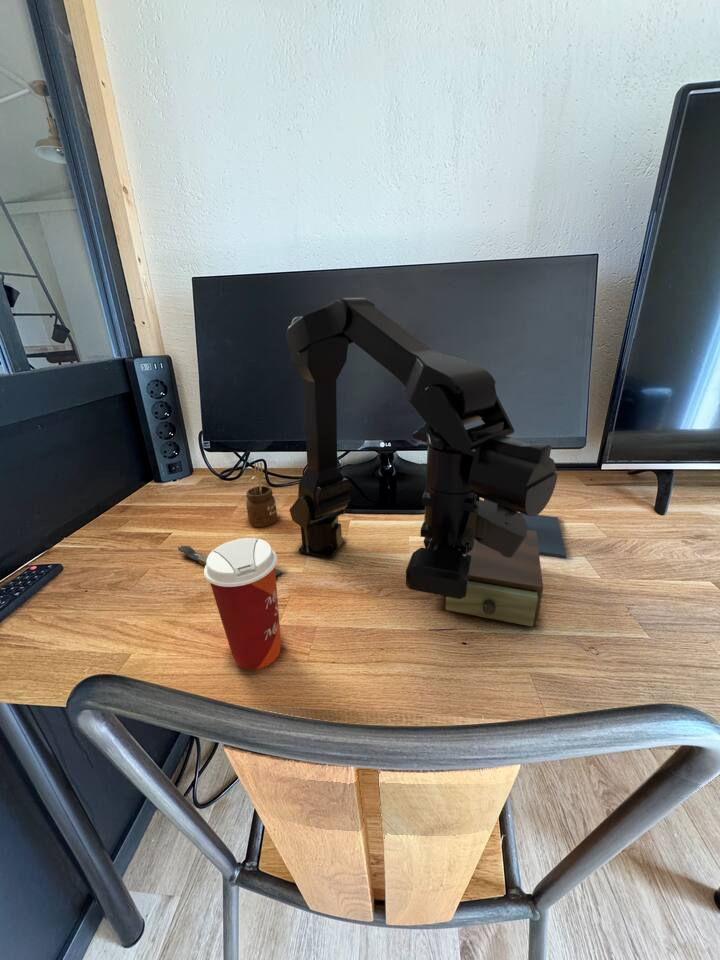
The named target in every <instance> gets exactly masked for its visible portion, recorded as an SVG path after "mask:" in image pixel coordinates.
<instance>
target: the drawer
mask: <svg viewBox="0 0 720 960" xmlns="http://www.w3.org/2000/svg"><path fill="white" fill-rule="evenodd" d="M537 599H538V596H537V592H532V591H530V590H528V589H522V588H516V587H510V586H504V585H498V584H492V583H486V582H480V581H474V580H468V586H467V592H466V597H464V598H461V599H456V598H451V597H446V609H445V610H446V611H451V612H456V613H461V614H465V615H471V616H475V617H480V618H486V619H490V620H496V621H500V622H501V621H502V622H507V623H511V624H517V625H522V626H527V627H534V626H533V622H534V616H535V610H536V605H537Z"/></svg>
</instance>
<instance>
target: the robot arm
mask: <svg viewBox="0 0 720 960" xmlns="http://www.w3.org/2000/svg"><path fill="white" fill-rule="evenodd" d="M286 343H287V347H288V350H289V358H290V362H291V364H292V365H293V367H294V368H295V370H296V372H297V373H298V375H299V376H300V377H301V379H302V384H303V385H302V388H303V389H302V391H303V405H304V408H303V409H304V427H305V446H306V464H307V465H306V469H305V471H304V472H303V474H302V476H301V478H300V480H299V481H298V482H299V483H298V492H297V499H296V500H295V501H294V503H293V504H292V506H290V508H289V514H290V517H291V521H292V522H294V523H295V524H297V525H298V526H300V537H301V546H300V547H299V548H298V550H297V551H298V554H303V555H309V556H316V557H322V558H326V559H331V558H332V557H333V556H334V555H335V553H336V551H337V550H339V549H340V547H341V545H342V544H343V541H344V537H343V535H342V534H343V533H342V524H341V523H339V516H342V515H345V514H346V510H347V507H348V505H349V502H350V501H351V500H352V497H351V492H350V488H351V481H350V479H348V478H346V477H345V476H344V475H343V474H342V473H343V472H341V470H340V469H339V466H338V465H339V464H338V405H337V404H338V403H337V401H338V400H337V398H338V397H337V381H338V378H339V376H340V374H341V372H342V371H343V369H344V367H345V365H346V363H347V360H348V349H349V346H350V345H351V344H353V343H354V344H355V345H356V346H357V347H359V348H360V349H361V350H362V351H363V352H364V353H366V354H367V355H368V356H369V357H371V358H372V359H373V360H374V361H375V362H376V363H378V364H379V365H380V366H381V367H382V368H384V369H385V370H386V371H387V372H388V373H390V375H392V376H393V377H394V378H396V379H397V380H398V381H399V382H400V384H402V385H403V387H404V388H405V390H406V394H407V398H408V402H409V404H410V405H411V407H413V409H414V410H415V411H416V412H417V414H418V415H419V416H420V418H421V419H422V420H423V421H424V424H423V425H422V426H421V427H420V428H418V429H417V430H416V431H414V432H413V433H412V438H413V439H414V440H416V441H420V442H422V443H426V444H427V449H426V451H427V452H426V474H425V477H426V478H425V490H424V492H423V494H422V497H421V506H424V516H423V517H424V519H423V522H422V525H421V527H420V538H424V539H423V546H424V547H422V546H421V547H420V548H418V549H416V550H415V551H413V552H412V554H411V557H410V559H409V562H408V563H407V566H406V569H405V586H406V587H407V588H408V590H411V591H416V592H421V593H425V594H430V595H436V596H441V597H443V596H446V597H451V598H456V599H461V598H464V597H466V592H467V586H468V579H469V571H470V562H471V555H466V554H467V553H468V552H470V551H471V550H472V549H473V546H474V538H475V539H476V540H477V541H478V542H479V543H481V544H483V545H485V546H487V547H489V548H492V549H494V550H496V551H498V552H500V553H501V555H503V556H505V557H508V558H512V557H513V556H514V555H515V553H516V552H517V550H518V549H519V547H520V546H521V544H522V543H523V541H524V540H525V538H526V537H527V525H526V520H525V519H524V518H523V514H525V515H528V516H531V517H534V516H537V515H540V514H541V512H543V511H544V509H546V507H547V505H548V504H549V502H550V500H551V498H552V496H553V494H554V491H555V488H556V485H557V481H558V473H557V472H556V471H557V467H556V462H555V460H554V459H553V458H552V457H551V451H552V446H551V445H550V443H549V444H548V443H544V442H541V441H527V440H523V439H519V438H516V437H511V436H512V435H514V433H515V428H514V427H513V425H512V422H511V420H510V419H509V417H508V415H507V413H506V411H505V409H504V407H503V405H502V403H501V400H500V399H499V396H498V394H497V390H496V381H495V378H494V377H493V375H492V374H491V373H490V372H489V371H488V370H487V369H485V368H483V367H481V366H478V365H476V364H474V363H472V362H471V361H470V362H469V361H467V360H465V359H463V358H460V357H457V356H456V357H455V356H453V355H448V354H444V353H441V352H439V351H436V350H434V349H433V348H431V347H429V346H428V345H427V344H426V343H424V342H423V341H421V340H420V339H419V338H418V337H416V336H415V335H414V334H412V333H411V332H409V331H408V330H406V329H405V328H404V327H402V326H401V325H400V324H399V323H398V322H396V321H395V320H393V319H392V318H390V317H389V316H388V315H387V314H385V313H383V312H382V311H381V310H380V309H379V308H377V307H376V306H375V304H374V303H373V301H372V300H369V299H368V298H365V297H341V298H340V297H339V298H338V299H337V300H334V301H332V302H331V303H329V304H328V305H327V306H325V307H323V308H320V309H318V310H314V311H313V312H310V313H308V314H305V315H303V316H302V315H301V316H296V317H294V318H293V319H292V322H291V323H290V324H289V325H288V326H287V330H286ZM478 421H482V422H483V423H482V424H479V425H476V426H473V427H470V428H468V429H466V427H465V426H466V425H468V424H472V423H475V422H478ZM484 499H486V500H488V501H490V502H489V503H488V502H486V501H484ZM516 511H517V512H518V513H519V514H516ZM521 513H522V514H521Z"/></svg>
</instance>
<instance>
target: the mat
mask: <svg viewBox="0 0 720 960" xmlns="http://www.w3.org/2000/svg"><path fill="white" fill-rule="evenodd" d="M519 513H520V512H518V514H519ZM521 514H522V513H521ZM523 518H524V519H525V520H526V525H527V530H531V531H536V533H537V541H538V549H539V556H540V555H541V556H547V557H554V558H555V557H556V558H561V559H562V558H563V559H566V558H567V552H566V549H565V544H564V543H565V542H564V540H563V539H564V538H563V535H562V530H561V526H560V522H559V518H558V516H550V515H541V514H538V515H537V516H534V517H531V516H528V515H525V514H523Z"/></svg>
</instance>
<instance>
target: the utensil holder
mask: <svg viewBox="0 0 720 960" xmlns="http://www.w3.org/2000/svg"><path fill="white" fill-rule="evenodd" d="M253 466H254V475H253V476H251V477H250V478H249V479H248V481H249V484H248V485H249V489H248V490H247V491H246V494H245V496H246V499H247V500H246V503H245V504H246V505H245V506H246V513H247V518H248V522H249V524H250V525H251V526H253V527H256V528H264V527H268V526H271V525H273V524H274V523H276V522H277V519H278V511H277V510H278V509H277V503H276V499H275V497H274V496H273V490H272V487H270V486H268V485H263V484H262V482H261V479H262V478H263V477H264V472H263V463H262V461H260V462H254V463H253ZM253 478H254V480H258V482H255V484H256V486H255V485H254V484H252V486H251V483H253V482H252V479H253Z"/></svg>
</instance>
